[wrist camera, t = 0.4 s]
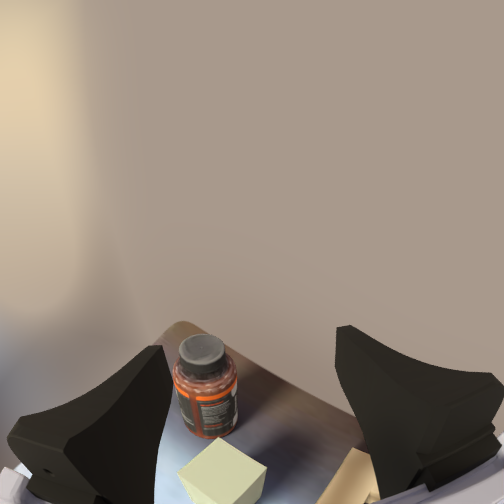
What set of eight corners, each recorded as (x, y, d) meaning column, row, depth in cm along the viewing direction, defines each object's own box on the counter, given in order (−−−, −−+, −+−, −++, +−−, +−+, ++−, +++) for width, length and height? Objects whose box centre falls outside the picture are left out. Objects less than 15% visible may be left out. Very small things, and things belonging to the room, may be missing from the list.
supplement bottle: (249, 419, 29) (252, 347, 24) (210, 450, 25) (199, 385, 20) (211, 391, 32) (204, 318, 28) (173, 417, 28) (154, 346, 24)
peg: (260, 496, 20) (267, 467, 17) (230, 527, 17) (226, 509, 13) (223, 472, 22) (218, 436, 19) (191, 500, 19) (176, 472, 16)
